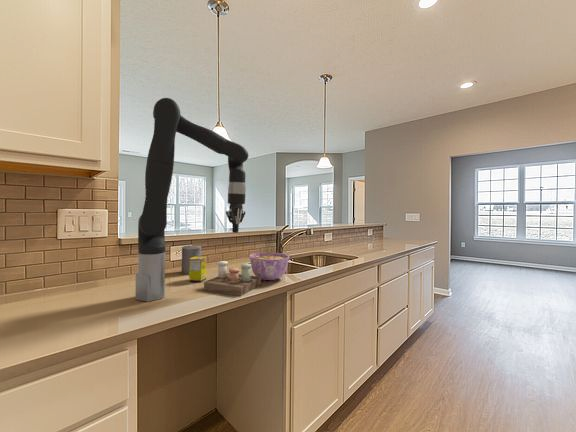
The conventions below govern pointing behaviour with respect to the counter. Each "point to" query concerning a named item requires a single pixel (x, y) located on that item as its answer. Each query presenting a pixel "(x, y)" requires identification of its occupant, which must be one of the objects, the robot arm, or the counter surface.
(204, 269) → the supplement box
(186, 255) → the pillar candle
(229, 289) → the walnut board
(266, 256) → the bowl of food
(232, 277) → the terracotta shaker
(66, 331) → the counter surface
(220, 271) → the white shaker
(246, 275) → the pale green shaker
